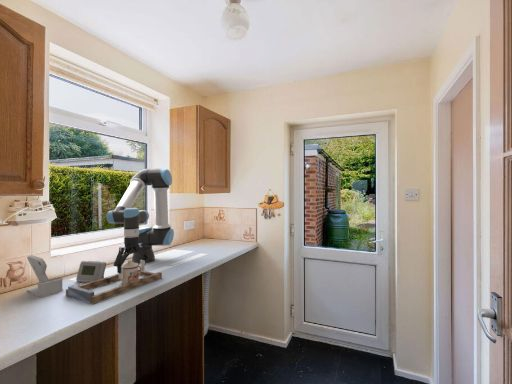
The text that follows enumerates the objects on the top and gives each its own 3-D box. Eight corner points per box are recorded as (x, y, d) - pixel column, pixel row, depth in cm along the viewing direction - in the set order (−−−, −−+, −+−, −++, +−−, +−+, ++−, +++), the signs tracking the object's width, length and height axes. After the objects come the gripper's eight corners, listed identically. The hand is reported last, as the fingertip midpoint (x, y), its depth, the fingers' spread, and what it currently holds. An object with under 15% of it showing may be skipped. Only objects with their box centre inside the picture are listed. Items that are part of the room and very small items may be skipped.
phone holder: (64, 291, 134) (64, 254, 134) (40, 297, 126) (39, 259, 125) (49, 284, 143) (49, 250, 143) (25, 290, 135) (25, 254, 135)
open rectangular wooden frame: (136, 272, 162) (136, 265, 162) (161, 277, 152) (161, 269, 152) (65, 295, 128) (65, 286, 128) (92, 304, 118) (92, 293, 118)
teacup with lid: (128, 285, 140) (128, 263, 140) (116, 283, 144) (116, 261, 144) (147, 278, 151) (146, 258, 151) (135, 276, 155) (135, 256, 155)
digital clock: (74, 282, 147) (74, 262, 147) (90, 277, 156) (90, 258, 156) (94, 285, 141) (94, 265, 141) (109, 280, 149) (109, 261, 149)
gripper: (114, 240, 135) (115, 283, 135) (154, 233, 157) (155, 269, 157) (105, 239, 138) (106, 280, 138) (145, 232, 160) (146, 268, 160)
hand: (132, 275), depth 148 cm, fingers open, 13 cm apart
